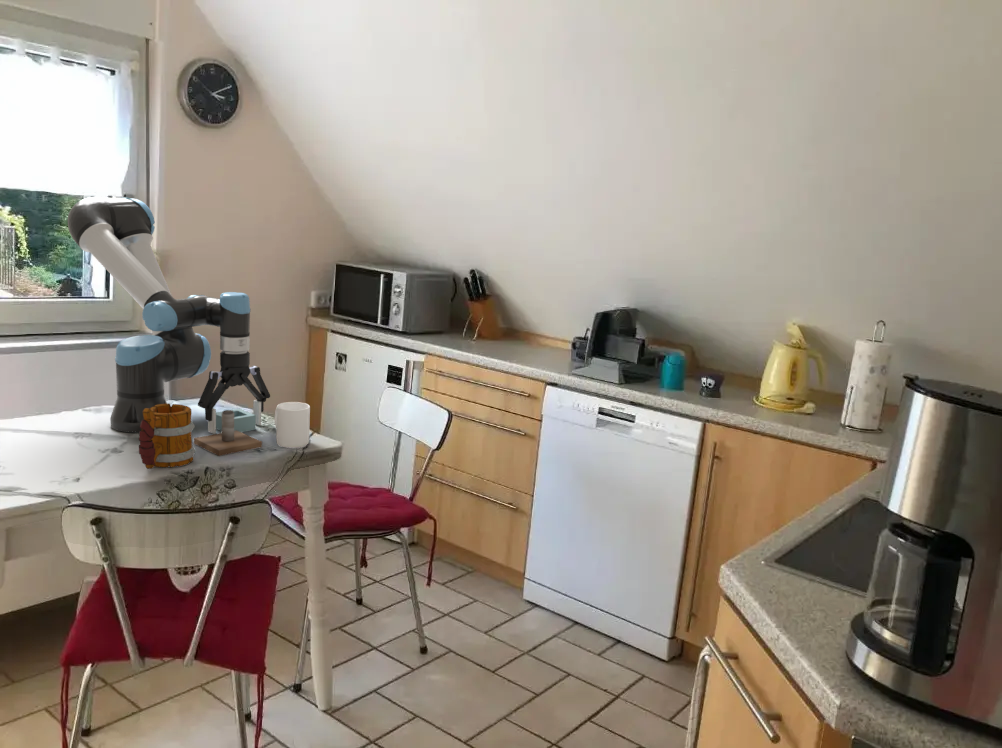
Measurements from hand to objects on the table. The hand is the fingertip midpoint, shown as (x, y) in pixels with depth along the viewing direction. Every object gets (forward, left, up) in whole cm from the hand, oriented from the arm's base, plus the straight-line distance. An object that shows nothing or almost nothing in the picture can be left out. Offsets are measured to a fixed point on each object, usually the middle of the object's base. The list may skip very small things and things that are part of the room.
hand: (235, 428), depth 231 cm
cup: (+18, +5, 0) cm, 18 cm away
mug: (+15, -28, 0) cm, 32 cm away
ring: (0, 0, 0) cm, 0 cm away
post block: (+12, -9, 0) cm, 15 cm away
